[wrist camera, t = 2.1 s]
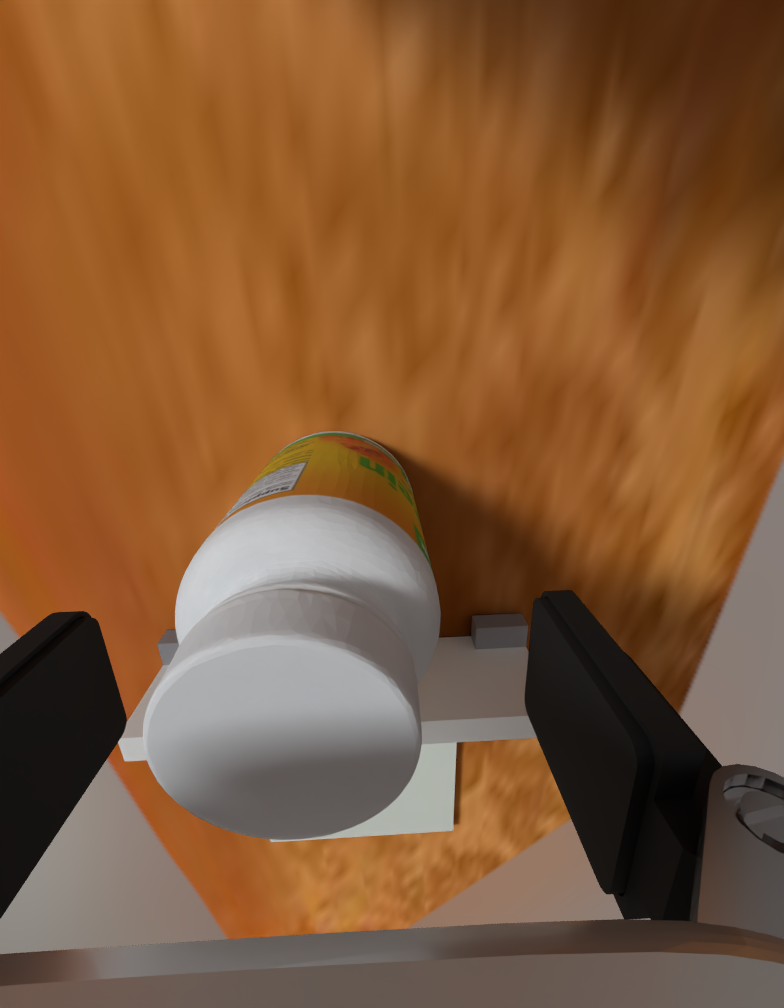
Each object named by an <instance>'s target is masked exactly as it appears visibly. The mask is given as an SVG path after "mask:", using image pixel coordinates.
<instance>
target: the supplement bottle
mask: <svg viewBox="0 0 784 1008" xmlns="http://www.w3.org/2000/svg"><path fill="white" fill-rule="evenodd" d="M440 618H441V611H440V603H439V596H438V592H437V586H436V581H435V578H434V574H433V570H432V567H431V563H430V559H429V555H428V551H427V547H426V543H425V540H424V536H423V532H422V528H421V523H420V519H419V515H418V511H417V507H416V503H415V499H414V495H413V491H412V488H411V485H410V482H409V480H408V477H407V475H406V473H405V471H404V470H403V468H402V467H401V465H400V464H399V462H398V461H397V460H396V459H395V458H394V456H393V455H392V454H391V453H389V452H388V451H387V450H386V449H385V448H383V447H382V446H381V445H379V444H377V443H376V442H374V441H372V440H370V439H368V438H366V437H363V436H360V435H358V434H354V433H349V432H342V431H326V432H319V433H315V434H311V435H308V436H305V437H303V438H300V439H298V440H296V441H294V442H293V443H291V444H289V445H288V446H286V447H285V448H284V449H282V450H281V451H280V452H279V453H278V454H277V455H276V456H275V457H274V458H273V459H272V460H271V461H270V462H269V463H268V464H267V465H266V467H265V468H264V469H263V470H262V472H261V473H260V474H259V475H258V477H257V478H256V479H255V480H254V482H253V483H252V484H251V485H250V486H249V488H248V489H247V490H246V491H245V492H244V494H243V495H242V496H241V497H240V499H239V500H238V501H237V502H236V504H235V505H234V506H233V507H232V509H231V510H230V511H229V512H228V513H227V515H226V516H225V517H224V518H223V520H222V521H221V522H220V523H219V524H218V525H217V527H216V528H215V529H214V530H213V531H212V532H211V534H210V535H209V536H208V537H207V539H206V540H205V541H204V543H203V544H202V546H201V547H200V548H199V550H198V551H197V553H196V554H195V556H194V557H193V559H192V561H191V563H190V564H189V566H188V568H187V570H186V572H185V574H184V577H183V579H182V581H181V584H180V588H179V591H178V594H177V601H176V609H175V627H176V634H177V639H178V643H179V647H178V649H177V651H176V653H175V655H174V657H173V659H172V661H171V663H170V664H169V666H168V668H167V670H166V672H165V673H164V675H163V677H162V679H161V680H160V682H159V684H158V686H157V687H156V689H155V691H154V693H153V695H152V697H151V699H150V702H149V704H148V707H147V710H146V713H145V718H144V722H143V746H144V751H145V755H146V758H147V761H148V764H149V766H150V768H151V770H152V772H153V774H154V776H155V777H156V779H157V781H158V783H159V784H160V785H161V786H162V787H163V789H164V790H165V791H166V792H167V793H168V794H169V795H170V796H171V797H172V798H173V799H174V800H175V801H176V802H177V803H178V804H180V805H181V806H182V807H184V808H185V809H186V810H188V811H189V812H190V813H192V814H193V815H195V816H196V817H198V818H200V819H202V820H204V821H206V822H208V823H210V824H213V825H215V826H217V827H219V828H222V829H225V830H228V831H232V832H235V833H239V834H243V835H247V836H251V837H257V838H264V839H275V840H292V839H306V838H314V837H321V836H326V835H331V834H334V833H337V832H340V831H343V830H346V829H350V828H352V827H354V826H356V825H359V824H361V823H363V822H365V821H367V820H369V819H371V818H372V817H374V816H376V815H377V814H378V813H380V812H381V811H383V810H384V809H385V808H387V807H388V806H389V805H390V804H391V803H392V802H393V801H395V800H396V799H397V797H398V796H399V795H400V794H401V793H402V791H403V790H404V789H405V787H406V786H407V784H408V783H409V782H410V780H411V778H412V776H413V774H414V772H415V769H416V766H417V763H418V760H419V757H420V752H421V745H422V726H421V717H420V707H419V695H418V686H417V684H418V682H419V681H420V680H421V678H422V677H423V675H424V674H425V673H426V671H427V669H428V667H429V665H430V663H431V661H432V658H433V656H434V653H435V650H436V647H437V643H438V638H439V632H440Z"/></svg>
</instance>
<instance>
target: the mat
mask: <svg viewBox="0 0 784 1008" xmlns="http://www.w3.org/2000/svg"><path fill="white" fill-rule="evenodd" d="M456 745H457V742H455V743H437V744H422V745H421V752H420V757H419V760H418V763H417V766H416V769H415V772H414V774H413V776H412V778H411V780H410V782H409V783H408V784H407V786H406V787H405V789H404V790H403V791H402V793H401V794H400V795H399V796H398V797H397V799H396V800H395V801H393V802H392V803H391V804H390V805H389V806H388V807H387V808H385V809H384V810H383V811H381V812H380V813H378V814H377V815H376V816H374V817H372V818H371V819H369V820H367V821H365V822H363V823H361V824H359V825H356V826H354V827H352V828H350V829H346V830H343V831H340V832H337V833H334V834H331V835H326V836H321V837H314V838H306V839H292V840H275V839H270V841H271V842H282V841H298V840H314V839H329V838H345V837H361V836H377V835H392V834H408V833H424V832H440V831H453V819H454V795H455V770H456Z"/></svg>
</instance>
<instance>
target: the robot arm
mask: <svg viewBox="0 0 784 1008" xmlns="http://www.w3.org/2000/svg"><path fill="white" fill-rule="evenodd" d="M524 699H525V707H526V712H527V715H528V717H529V720H530V722H531V724H532V727H533V729H534V732H535V734H536V736H537V739H538V741H539V743H540V746H541V748H542V750H543V753H544V755H545V758H546V760H547V762H548V765H549V767H550V769H551V772H552V774H553V777H554V779H555V781H556V784H557V786H558V788H559V791H560V793H561V795H562V798H563V800H564V803H565V805H566V807H567V810H568V812H569V814H570V817H571V819H572V822H573V824H574V826H575V829H576V831H577V833H578V836H579V838H580V840H581V843H582V845H583V848H584V850H585V852H586V854H587V857H588V859H589V862H590V864H591V866H592V869H593V871H594V874H595V876H596V878H597V880H598V882H599V885H600V887H601V888H602V890H603V891H604V892H605V893H606V894H613V895H614V897H615V899H616V902H617V904H618V906H619V908H620V911H621V913H622V915H623V917H624V919H617V920H590V921H560V922H534V923H505V924H504V923H503V924H485V925H468V926H449V927H432V928H415V929H396V930H379V931H361V932H343V933H325V934H308V935H292V936H276V937H260V938H244V939H227V940H212V941H196V942H181V943H164V944H148V945H135V946H134V945H132V946H117V947H101V948H85V949H71V950H58V951H57V950H56V951H42V952H27V953H13V954H0V1008H784V778H783V777H781V776H779V775H777V774H775V773H773V772H770V771H767V770H764V769H761V768H757V767H755V766H747V765H740V764H735V765H728V766H723V767H722V765H721V764H720V763H719V762H718V761H717V759H716V758H715V757H714V756H713V755H712V754H711V752H710V751H709V750H708V749H707V748H706V747H705V745H704V744H703V743H702V742H701V741H700V739H699V738H698V737H697V736H696V735H695V734H694V732H693V731H692V730H691V729H690V728H689V726H688V725H687V724H686V723H685V722H684V720H683V719H682V718H681V717H680V716H679V714H678V713H677V712H676V711H675V710H674V708H673V707H672V706H671V705H670V704H669V703H668V701H667V700H666V699H665V698H664V697H663V695H662V694H661V693H660V692H659V691H658V690H657V688H656V687H655V686H654V685H653V684H652V682H651V681H650V680H649V679H648V678H647V676H646V675H645V674H644V673H643V672H642V671H641V669H640V668H639V667H638V666H637V665H636V663H635V662H634V661H633V660H632V659H631V658H630V657H629V656H628V655H627V654H626V653H625V652H623V651H622V649H621V648H620V647H619V646H618V645H617V643H616V642H615V641H614V640H613V639H612V637H611V636H610V635H609V634H608V633H607V631H606V630H605V629H604V628H603V627H602V625H601V624H600V623H599V622H598V621H597V620H596V618H595V617H594V616H593V615H592V614H591V612H590V611H589V610H588V609H587V608H586V606H585V605H584V604H583V603H582V602H581V600H580V599H579V598H578V597H577V596H576V594H575V593H574V592H573V591H571V590H562V591H544V592H543V593H542V596H541V598H536V599H535V600H534V602H533V611H532V621H531V632H530V643H529V653H528V664H527V675H526V685H525V698H524ZM126 721H127V718H126V713H125V710H124V707H123V703H122V700H121V697H120V693H119V690H118V686H117V683H116V680H115V676H114V673H113V670H112V666H111V663H110V660H109V656H108V653H107V649H106V646H105V643H104V639H103V636H102V633H101V629H100V626H99V623H98V621H97V620H96V619H94V618H91V616H90V615H89V614H88V613H87V612H84V611H78V612H57V613H52V614H50V615H49V616H47V617H46V618H45V619H44V620H42V621H41V622H40V623H38V624H37V625H36V626H35V627H33V628H32V629H31V630H30V631H28V632H27V633H26V634H25V635H23V636H22V637H21V638H20V639H18V640H17V641H16V642H15V643H13V644H12V645H11V646H10V647H8V648H7V649H6V650H5V651H3V652H2V653H1V654H0V918H1V917H2V916H3V914H4V913H5V911H6V909H7V908H8V907H9V905H10V904H11V902H12V901H13V899H14V898H15V896H16V894H17V893H18V892H19V890H20V889H21V887H22V885H23V884H24V883H25V881H26V880H27V878H28V877H29V875H30V873H31V872H32V870H33V869H34V867H35V866H36V865H37V863H38V861H39V860H40V858H41V857H42V855H43V854H44V852H45V851H46V849H47V848H48V846H49V845H50V843H51V842H52V840H53V839H54V837H55V836H56V834H57V833H58V831H59V830H60V828H61V827H62V825H63V824H64V822H65V821H66V819H67V818H68V816H69V815H70V813H71V812H72V810H73V809H74V807H75V806H76V804H77V803H78V801H79V800H80V798H81V797H82V795H83V794H84V792H85V791H86V789H87V788H88V786H89V785H90V783H91V782H92V780H93V779H94V777H95V776H96V774H97V773H98V771H99V770H100V768H101V767H102V765H103V764H104V762H105V761H106V759H107V758H108V756H109V755H110V753H111V752H112V750H113V749H114V747H115V746H116V744H117V743H118V741H119V740H120V738H121V737H122V735H123V733H124V731H125V728H126ZM641 918H642V919H643V918H650V919H651V920H630V919H641Z"/></svg>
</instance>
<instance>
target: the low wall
mask: <svg viewBox="0 0 784 1008" xmlns="http://www.w3.org/2000/svg"><path fill="white" fill-rule="evenodd" d="M527 634H528V624H527V622H526V620H525V619H524V617H523V615H522V613H516V614H495V615H474V616H472V626H471V636H462V637H442V638H438V643H437V647H436V650H435V653H434V656H433V658H432V661H431V663H430V665H429V667H428V669H427V671H426V673H425V674H424V675H423V677H422V678H421V680H420V681H419V682H418V684H417V686H418V695H419V707H420V717H421V726H422V744H437V743H455V742H472V741H490V740H507V739H525V738H537V736H536V734H535V732H534V729H533V727H532V724H531V722H530V720H529V717H528V715H527V712H526V707H525V699H524V698H525V685H526V675H527V664H528V653H529V652H528V650H527V648H526V643H527ZM157 645H158V648H159V652H160V655H161V659H162V662H163V666H162V668H161V670H160V671H159V673H158V674H157V676H156V677H155V679H154V681H153V682H152V684H151V685H150V687H149V689H148V690H147V692H146V693H145V695H144V696H143V698H142V700H141V701H140V703H139V704H138V706H137V707H136V709H135V711H134V712H133V714H132V715H131V717H130V718H129V720H128V722H127V723H126V728H125V731H124V733H123V735H122V737H121V738H120V740H119V741H118V744H119V746H120V749H121V752H122V755H123V758H124V760H125V761H140V760H147V758H146V755H145V751H144V746H143V722H144V718H145V713H146V710H147V707H148V704H149V702H150V699H151V697H152V695H153V693H154V691H155V689H156V687H157V686H158V684H159V682H160V680H161V679H162V677H163V675H164V673H165V672H166V670H167V668H168V666H169V664H170V663H171V661H172V659H173V657H174V655H175V653H176V651H177V649H178V647H179V643H178V639H177V634H176V630H167V631H166V632H165V634H164V635H163V637H162V638H161V639H160V641H159V642H158V644H157Z"/></svg>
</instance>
